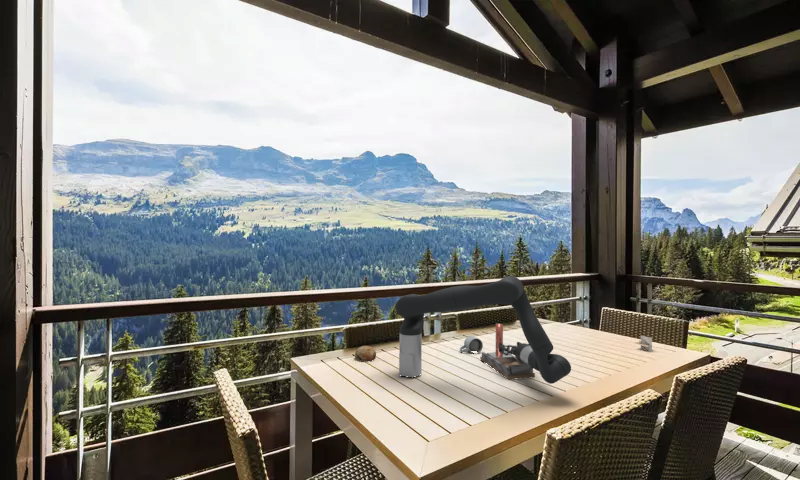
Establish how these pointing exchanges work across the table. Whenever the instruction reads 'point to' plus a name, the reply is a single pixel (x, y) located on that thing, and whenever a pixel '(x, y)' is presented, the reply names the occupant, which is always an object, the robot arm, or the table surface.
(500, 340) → the slider
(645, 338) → the architectural model
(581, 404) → the table surface
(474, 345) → the ceramic mug
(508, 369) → the press base
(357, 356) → the bread roll
